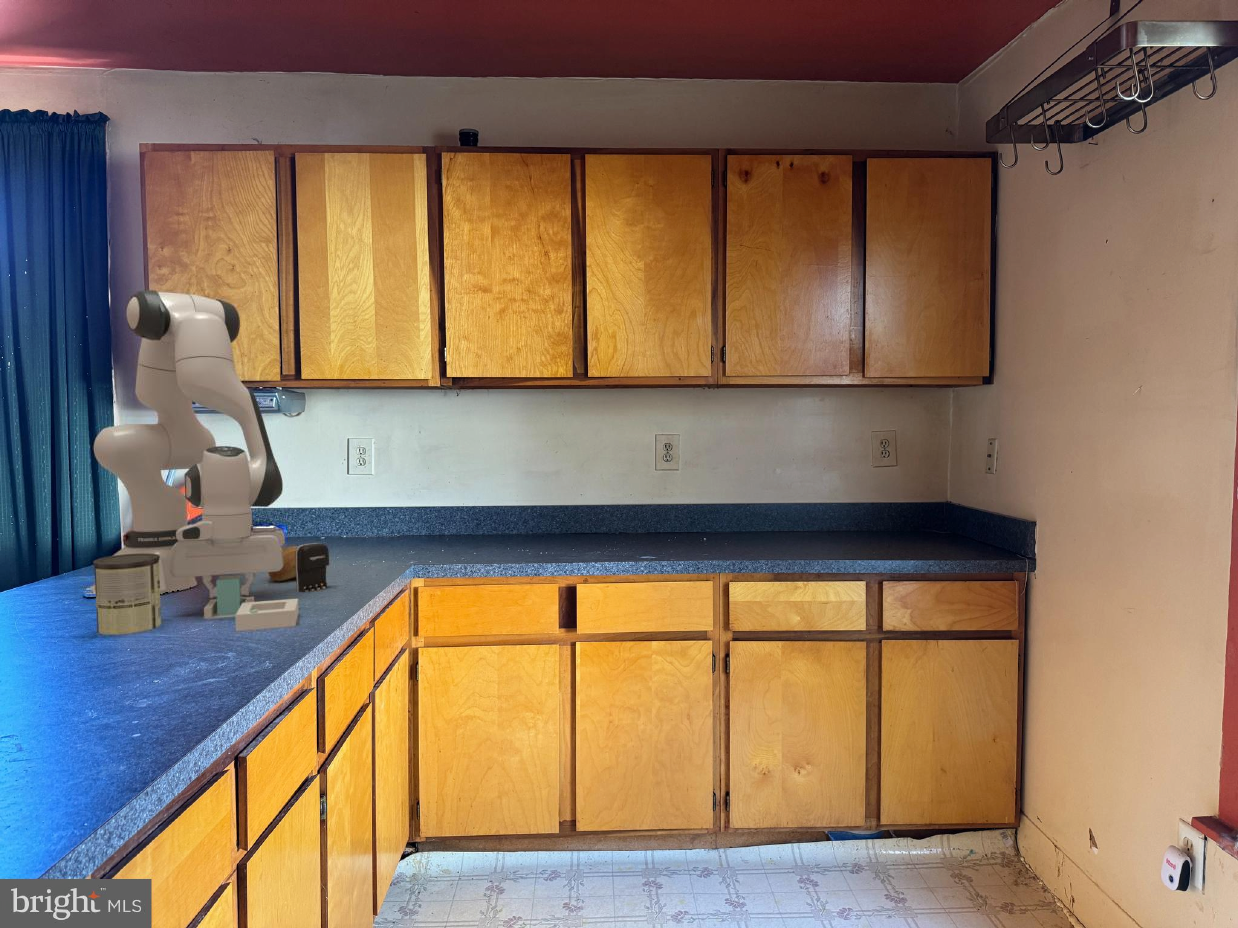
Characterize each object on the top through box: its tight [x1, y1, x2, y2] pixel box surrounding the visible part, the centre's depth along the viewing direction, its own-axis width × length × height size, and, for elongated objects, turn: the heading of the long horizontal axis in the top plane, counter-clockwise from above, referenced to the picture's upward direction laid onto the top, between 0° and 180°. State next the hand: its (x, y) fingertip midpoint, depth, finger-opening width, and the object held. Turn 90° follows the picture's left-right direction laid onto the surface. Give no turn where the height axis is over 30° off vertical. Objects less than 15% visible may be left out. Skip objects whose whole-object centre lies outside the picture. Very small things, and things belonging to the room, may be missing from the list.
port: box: [235, 598, 299, 632], centre depth 143 cm, size 10×10×4 cm
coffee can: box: [93, 553, 162, 636], centre depth 139 cm, size 10×10×14 cm
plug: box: [215, 574, 243, 615], centre depth 151 cm, size 4×4×7 cm
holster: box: [203, 596, 255, 620], centre depth 151 cm, size 8×8×3 cm
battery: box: [295, 542, 330, 593], centre depth 172 cm, size 7×4×11 cm, turn 143°
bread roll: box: [267, 545, 298, 582], centre depth 190 cm, size 10×15×8 cm, turn 170°
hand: (229, 595), depth 151 cm, fingers closed on plug, 4 cm apart
